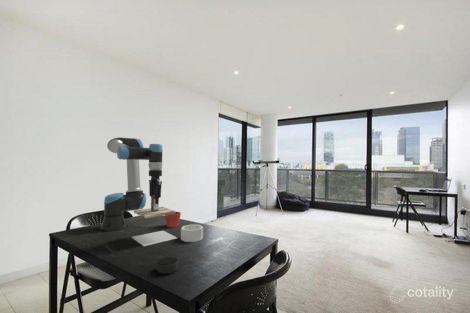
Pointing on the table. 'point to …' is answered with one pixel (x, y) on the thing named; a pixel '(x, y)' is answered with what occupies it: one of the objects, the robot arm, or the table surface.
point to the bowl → (191, 233)
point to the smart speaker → (167, 265)
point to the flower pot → (173, 219)
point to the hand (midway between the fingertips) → (154, 208)
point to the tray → (153, 238)
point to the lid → (154, 211)
